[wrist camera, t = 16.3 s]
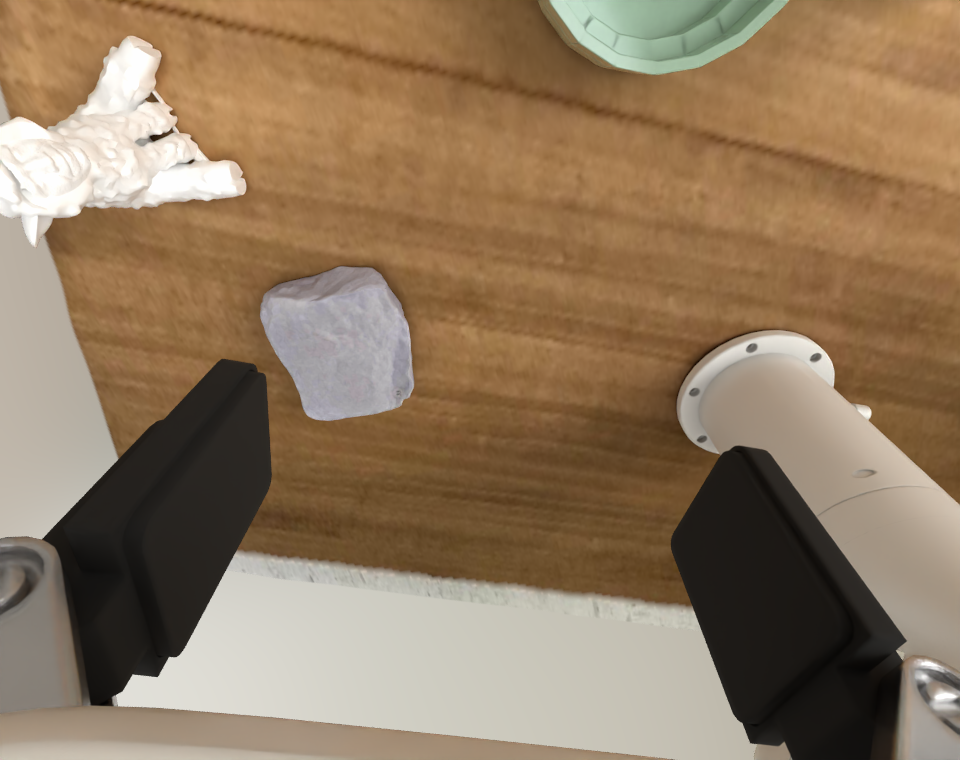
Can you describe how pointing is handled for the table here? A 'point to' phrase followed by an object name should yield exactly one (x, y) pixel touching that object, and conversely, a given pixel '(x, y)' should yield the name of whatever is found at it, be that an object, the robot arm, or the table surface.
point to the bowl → (657, 30)
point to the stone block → (341, 342)
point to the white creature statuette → (107, 152)
